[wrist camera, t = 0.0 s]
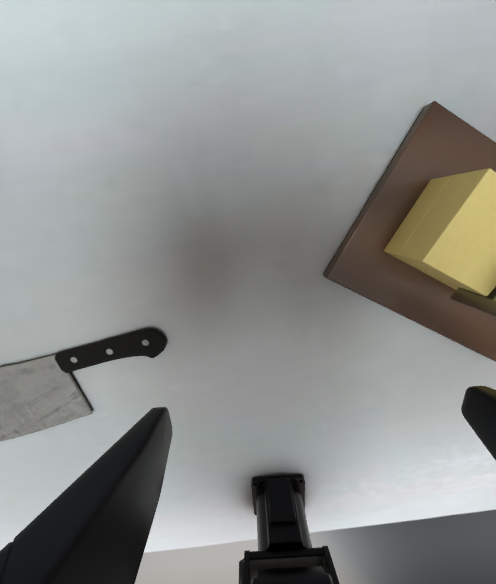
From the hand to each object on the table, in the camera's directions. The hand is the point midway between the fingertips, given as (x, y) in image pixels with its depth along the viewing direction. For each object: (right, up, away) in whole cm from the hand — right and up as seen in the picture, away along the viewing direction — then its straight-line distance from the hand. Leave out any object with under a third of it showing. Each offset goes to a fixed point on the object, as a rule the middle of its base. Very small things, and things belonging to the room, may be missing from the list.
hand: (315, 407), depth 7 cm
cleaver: (-23, -7, +18) cm, 30 cm away
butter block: (+14, +8, +12) cm, 20 cm away
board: (+17, +7, +13) cm, 23 cm away
